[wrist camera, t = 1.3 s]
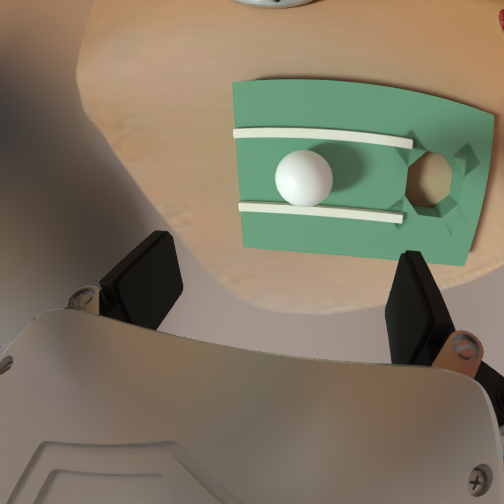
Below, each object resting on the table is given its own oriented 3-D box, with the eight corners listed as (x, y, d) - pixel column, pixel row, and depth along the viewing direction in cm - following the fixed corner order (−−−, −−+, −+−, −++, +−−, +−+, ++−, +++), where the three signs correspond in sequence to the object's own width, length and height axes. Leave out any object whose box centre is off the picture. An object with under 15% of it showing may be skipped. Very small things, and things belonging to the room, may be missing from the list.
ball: (279, 145, 22) (269, 154, 18) (332, 147, 21) (335, 157, 17) (280, 194, 24) (271, 214, 20) (330, 197, 23) (331, 218, 19)
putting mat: (240, 83, 22) (230, 81, 19) (481, 112, 16) (497, 115, 14) (249, 235, 30) (242, 250, 27) (456, 254, 24) (465, 269, 22)
